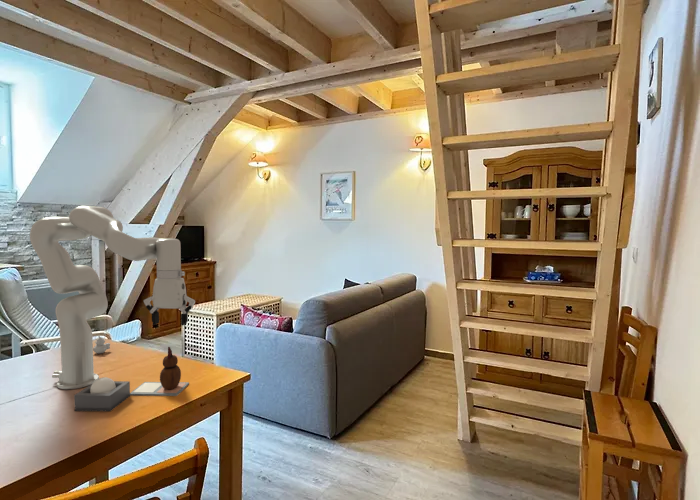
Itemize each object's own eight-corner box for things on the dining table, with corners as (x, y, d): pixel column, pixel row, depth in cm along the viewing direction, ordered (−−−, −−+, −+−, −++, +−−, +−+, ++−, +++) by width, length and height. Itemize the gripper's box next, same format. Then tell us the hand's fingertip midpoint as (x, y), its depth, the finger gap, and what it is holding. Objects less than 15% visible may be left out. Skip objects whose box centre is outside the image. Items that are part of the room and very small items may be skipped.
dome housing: (74, 410, 125) (74, 395, 125) (97, 395, 136) (96, 381, 136) (110, 411, 125) (109, 395, 124) (130, 396, 136) (129, 381, 135)
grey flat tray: (129, 395, 136) (129, 393, 136) (144, 383, 146) (144, 381, 146) (176, 395, 136) (176, 393, 136) (189, 384, 146) (188, 382, 146)
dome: (85, 404, 127) (84, 382, 126) (99, 394, 134) (98, 373, 133) (107, 404, 127) (106, 382, 126) (120, 394, 134) (119, 374, 133)
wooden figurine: (172, 392, 137) (171, 348, 136) (157, 390, 138) (156, 347, 137) (184, 384, 144) (183, 342, 143) (169, 383, 145) (168, 341, 144)
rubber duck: (92, 352, 179) (91, 335, 179) (109, 349, 184) (108, 332, 183) (94, 355, 175) (93, 337, 175) (111, 352, 180) (111, 334, 179)
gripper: (198, 273, 142) (199, 322, 143) (149, 273, 142) (150, 321, 143) (189, 276, 134) (190, 327, 136) (137, 275, 135) (139, 326, 136)
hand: (169, 324), depth 140 cm, fingers open, 9 cm apart
